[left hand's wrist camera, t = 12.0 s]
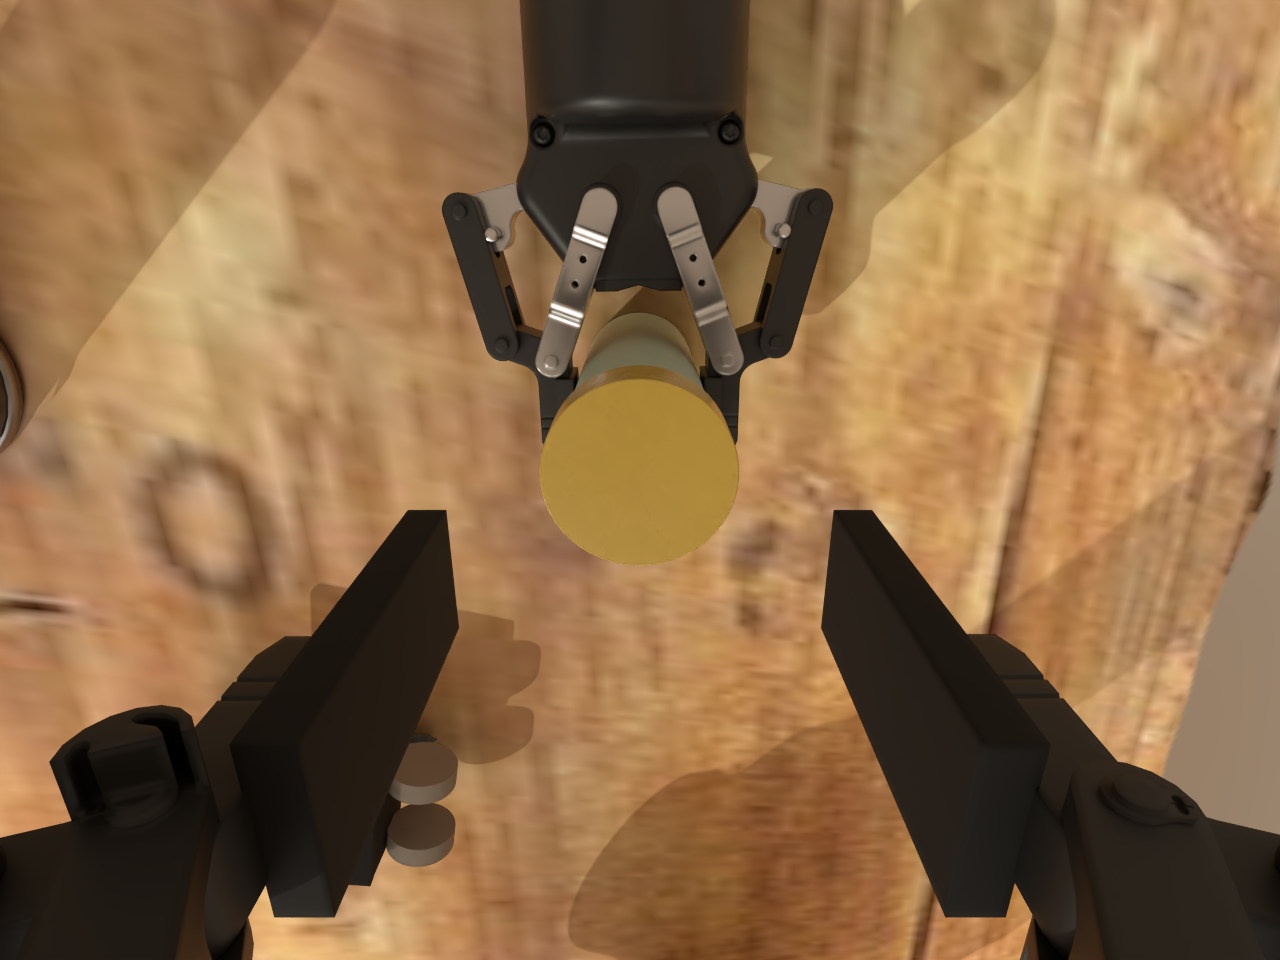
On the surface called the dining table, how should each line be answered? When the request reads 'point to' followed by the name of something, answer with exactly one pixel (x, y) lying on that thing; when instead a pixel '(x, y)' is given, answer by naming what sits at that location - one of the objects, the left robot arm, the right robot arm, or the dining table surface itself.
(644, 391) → the lid
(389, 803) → the figurine character
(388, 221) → the dining table surface
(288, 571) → the dining table surface
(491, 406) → the dining table surface
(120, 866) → the left robot arm
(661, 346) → the jar
